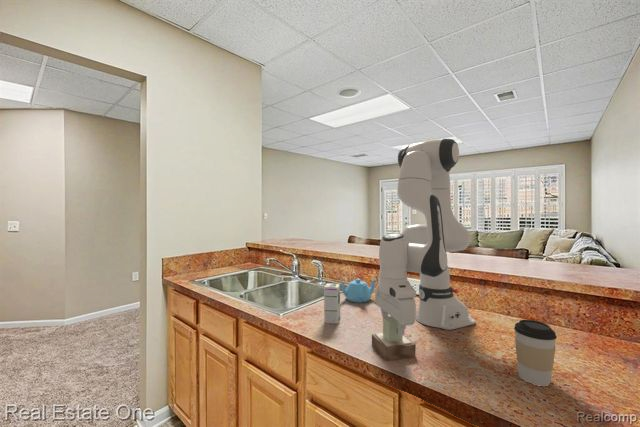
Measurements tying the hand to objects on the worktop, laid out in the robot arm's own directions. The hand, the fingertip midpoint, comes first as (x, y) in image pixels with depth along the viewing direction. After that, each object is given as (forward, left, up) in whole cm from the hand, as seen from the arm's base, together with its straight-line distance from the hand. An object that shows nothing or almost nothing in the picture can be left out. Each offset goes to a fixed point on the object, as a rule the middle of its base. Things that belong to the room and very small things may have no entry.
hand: (392, 328), depth 92 cm
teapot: (-8, -50, -7) cm, 51 cm away
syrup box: (+12, -28, -7) cm, 31 cm away
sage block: (0, 0, -3) cm, 3 cm away
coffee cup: (-29, +23, -7) cm, 38 cm away
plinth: (0, 0, -7) cm, 7 cm away
